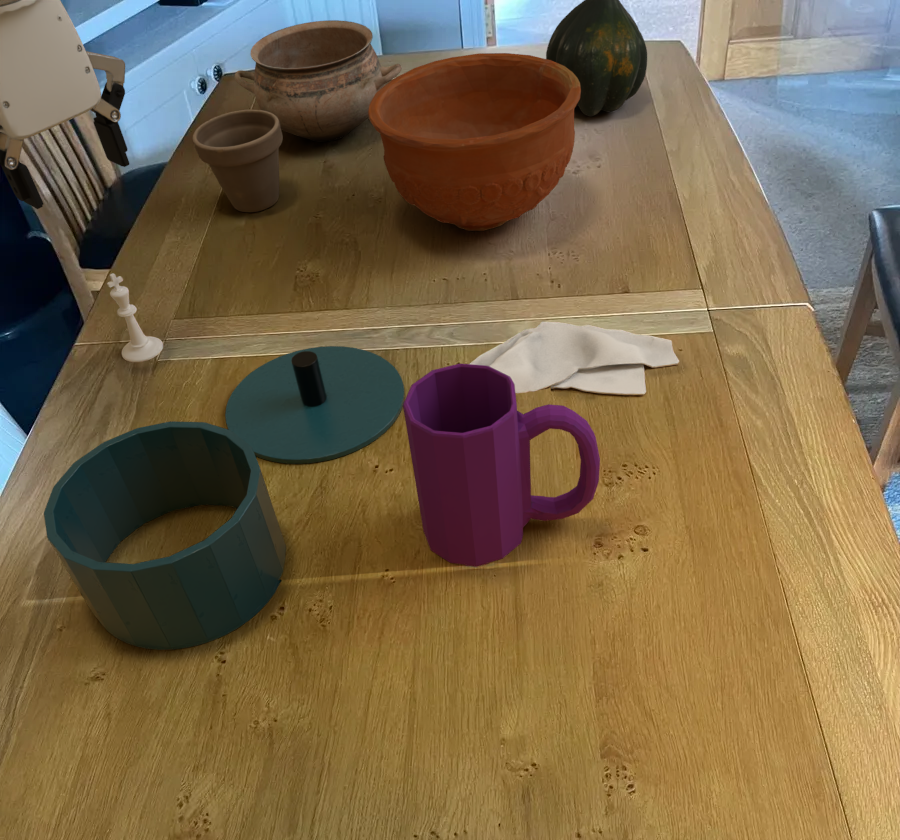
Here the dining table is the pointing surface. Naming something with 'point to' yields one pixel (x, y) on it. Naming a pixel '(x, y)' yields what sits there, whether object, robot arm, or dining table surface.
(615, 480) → the dining table surface
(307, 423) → the lid
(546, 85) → the bowl
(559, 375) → the cloth
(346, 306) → the dining table surface
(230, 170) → the flower pot
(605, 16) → the squash
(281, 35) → the cooking pot
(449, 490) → the mug
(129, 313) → the chess piece
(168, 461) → the pot
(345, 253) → the dining table surface
